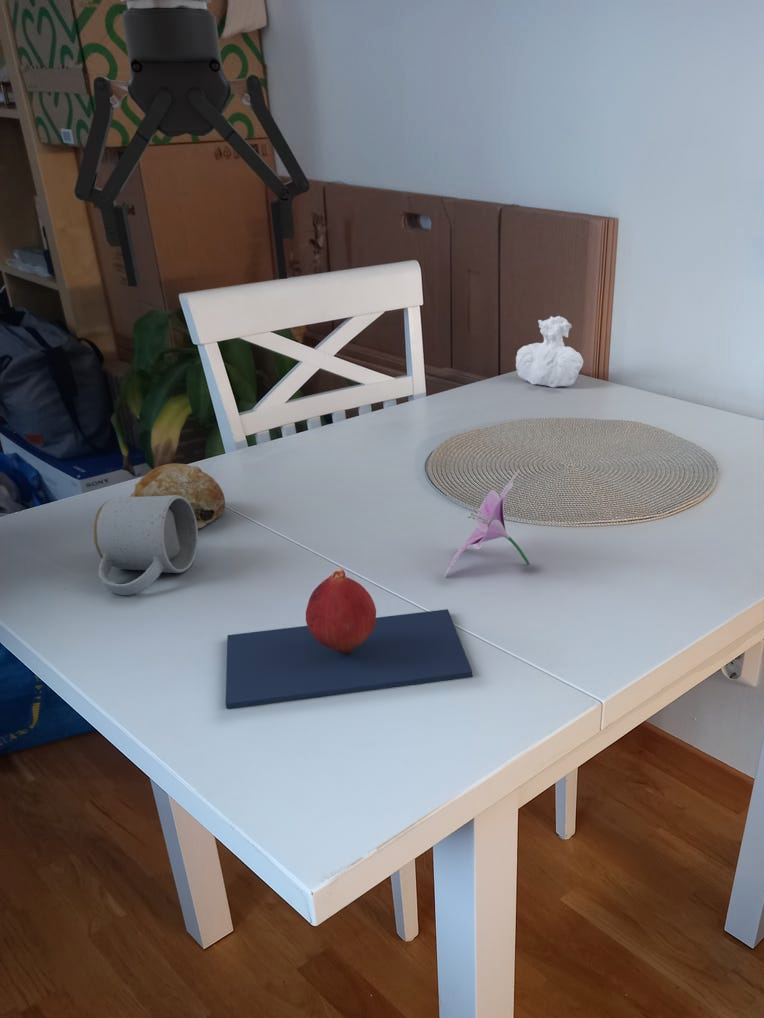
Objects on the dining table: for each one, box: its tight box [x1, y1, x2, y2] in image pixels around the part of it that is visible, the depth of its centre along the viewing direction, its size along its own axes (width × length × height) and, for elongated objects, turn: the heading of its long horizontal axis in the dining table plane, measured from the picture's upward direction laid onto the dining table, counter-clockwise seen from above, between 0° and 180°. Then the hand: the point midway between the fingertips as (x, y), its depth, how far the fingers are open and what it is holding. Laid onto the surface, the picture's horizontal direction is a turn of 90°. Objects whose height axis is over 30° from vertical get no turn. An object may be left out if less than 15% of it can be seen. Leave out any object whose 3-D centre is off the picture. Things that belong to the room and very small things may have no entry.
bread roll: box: [129, 462, 226, 530], centre depth 105 cm, size 10×10×8 cm
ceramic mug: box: [92, 495, 199, 596], centre depth 92 cm, size 11×8×8 cm
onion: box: [305, 568, 377, 654], centre depth 77 cm, size 6×6×8 cm
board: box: [225, 608, 474, 709], centre depth 80 cm, size 20×11×1 cm, turn 102°
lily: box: [444, 469, 531, 577], centre depth 93 cm, size 12×12×10 cm
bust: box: [515, 315, 584, 388], centre depth 150 cm, size 12×8×11 cm
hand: (209, 280), depth 87 cm, fingers open, 13 cm apart
